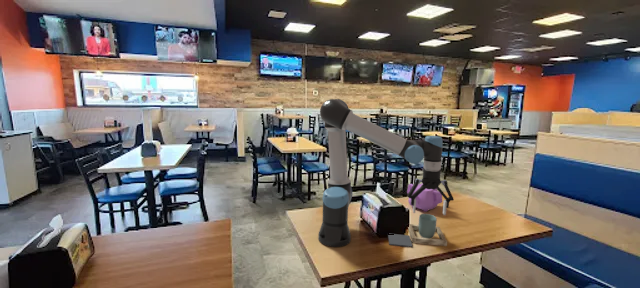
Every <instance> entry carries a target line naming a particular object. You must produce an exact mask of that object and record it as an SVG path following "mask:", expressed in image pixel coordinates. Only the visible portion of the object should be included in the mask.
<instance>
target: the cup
mask: <svg viewBox="0 0 640 288" xmlns="http://www.w3.org/2000/svg"><path fill="white" fill-rule="evenodd" d="M418 225H419V226H418V229H419V230H418V233H419V236H421V238H431V239H433V238H434V236H435V234H436V232H435V230H436V227H437V217H436V216H435V215H432V214H429V213H421V214H419V216H418Z"/></svg>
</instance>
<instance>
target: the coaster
mask: <svg viewBox="0 0 640 288" xmlns="http://www.w3.org/2000/svg"><path fill="white" fill-rule="evenodd" d="M393 234H394V235H388V234H387V238H388V245H389V246H395V247H396V246H397V247H406V248H413V244H412V240H411V237H410V234H409V235H406V234H397V233H393Z"/></svg>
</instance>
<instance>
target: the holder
mask: <svg viewBox="0 0 640 288" xmlns="http://www.w3.org/2000/svg"><path fill="white" fill-rule="evenodd" d="M408 224H409V227H408V226H407V228H408V233H409V236H410V239H411V243H414V244H421V245H422V244H424V245H429V246H431V245H432V246H433V245H434V246H442V247H447V246H448V240H447V238H446V237H445V235H444V233H443V231H442V229H441V227H440V226H436V230H435V233H436V234H437V236H438V238H423V237H422V236H421V237H419V236H416V235H415V232H414V231H419V229H418V226H419V224H411V223H408Z"/></svg>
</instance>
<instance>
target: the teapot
mask: <svg viewBox="0 0 640 288" xmlns="http://www.w3.org/2000/svg"><path fill="white" fill-rule="evenodd" d="M413 185H414V183H410V184H409V183H408V186H407V190H406V193H407V194H408V193H409V191H410V190H411V188H412V186H413ZM422 185H423V183H422V182H421V183H420V184H418V186H417V188H416V189H415V191H414V193H415V192H416V191H417V190H418V189H419V188H420V187H421V186H422ZM414 193H413V194H414ZM413 194H412V195H413ZM415 199H416V209H419V210H422V211H423V212H424V213H426V212H428V211H429V210H434V209H435V208H436V207H437V206H438V205H439V204H442V203H443V196H442V195H441V193H440V192H439V191H438V190H437V188H436V189H435V190H433V189H427V188H426V189H425V190H423V191H422V192H421V193H420V194H419V195H418V196H417V197H416V198H415ZM408 204H409V206H411V207H412V208H413V206H412V205H411V198H408Z"/></svg>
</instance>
